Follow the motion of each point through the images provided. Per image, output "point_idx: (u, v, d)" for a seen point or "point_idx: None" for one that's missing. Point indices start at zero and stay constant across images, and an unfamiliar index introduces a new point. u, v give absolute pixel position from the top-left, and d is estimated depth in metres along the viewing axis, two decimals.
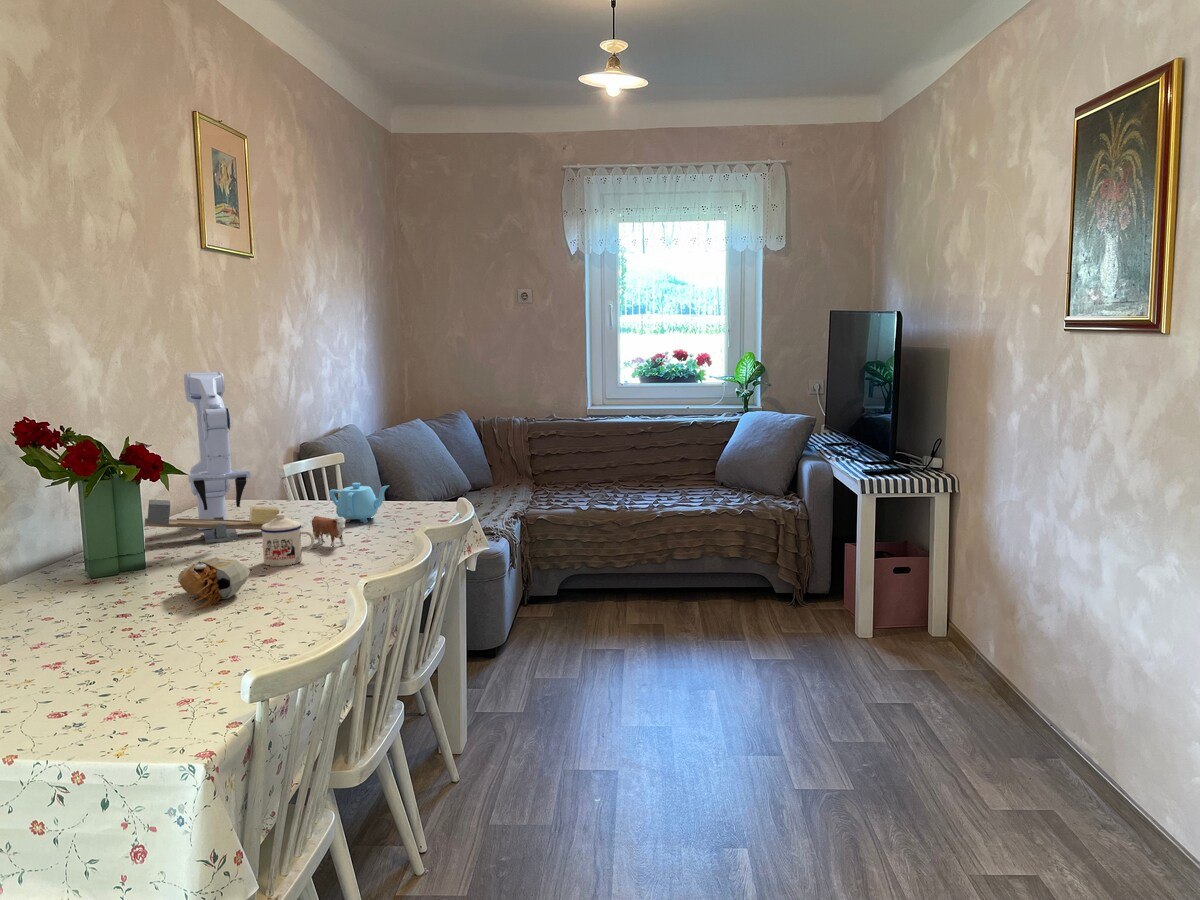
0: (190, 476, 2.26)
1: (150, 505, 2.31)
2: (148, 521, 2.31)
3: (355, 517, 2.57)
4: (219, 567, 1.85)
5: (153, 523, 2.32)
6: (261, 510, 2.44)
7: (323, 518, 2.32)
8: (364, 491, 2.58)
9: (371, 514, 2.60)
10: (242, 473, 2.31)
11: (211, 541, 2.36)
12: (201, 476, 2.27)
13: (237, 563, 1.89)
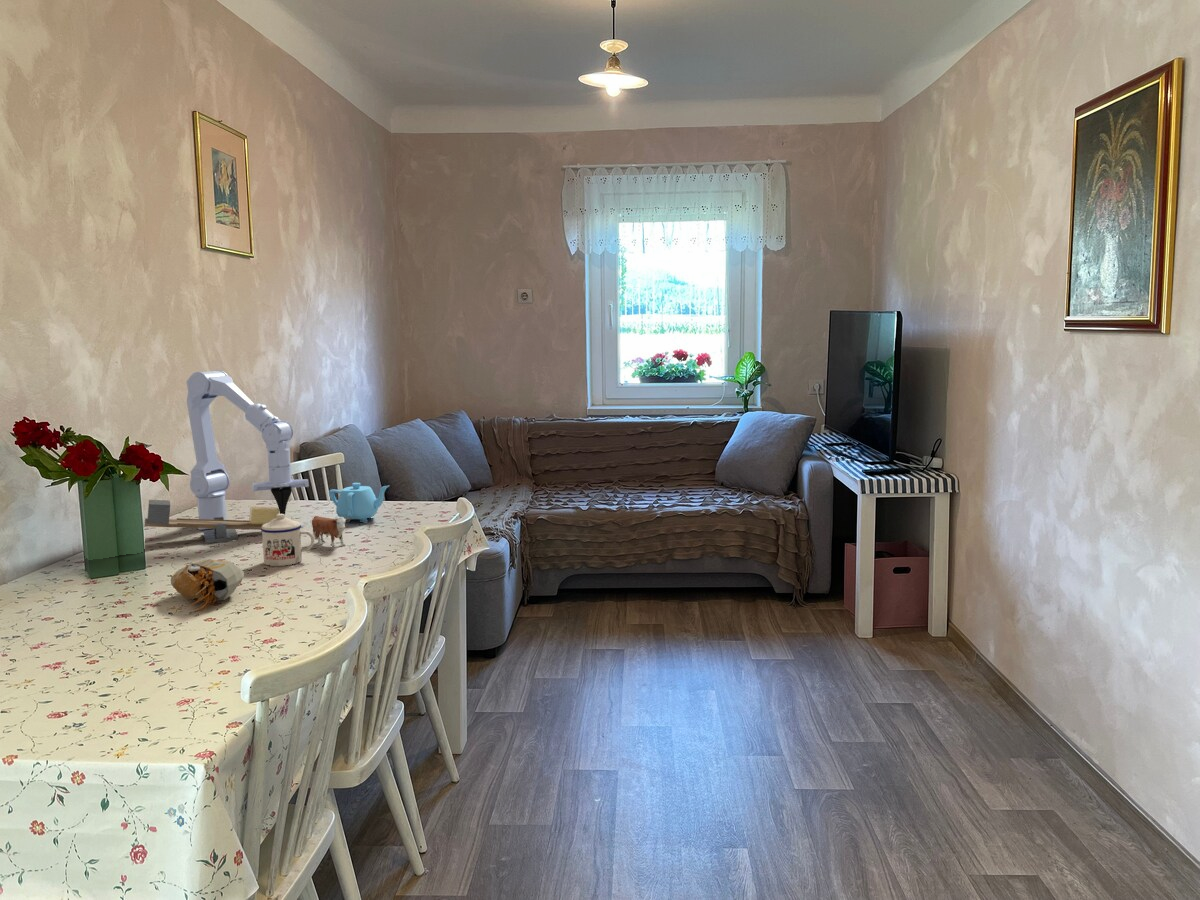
0: (254, 485, 2.44)
1: (150, 505, 2.31)
2: (148, 521, 2.31)
3: (355, 517, 2.57)
4: (215, 569, 1.83)
5: (153, 523, 2.32)
6: (261, 510, 2.44)
7: (323, 518, 2.32)
8: (364, 491, 2.58)
9: (371, 514, 2.60)
10: (301, 482, 2.49)
11: (211, 541, 2.36)
12: (264, 485, 2.44)
13: (232, 564, 1.88)
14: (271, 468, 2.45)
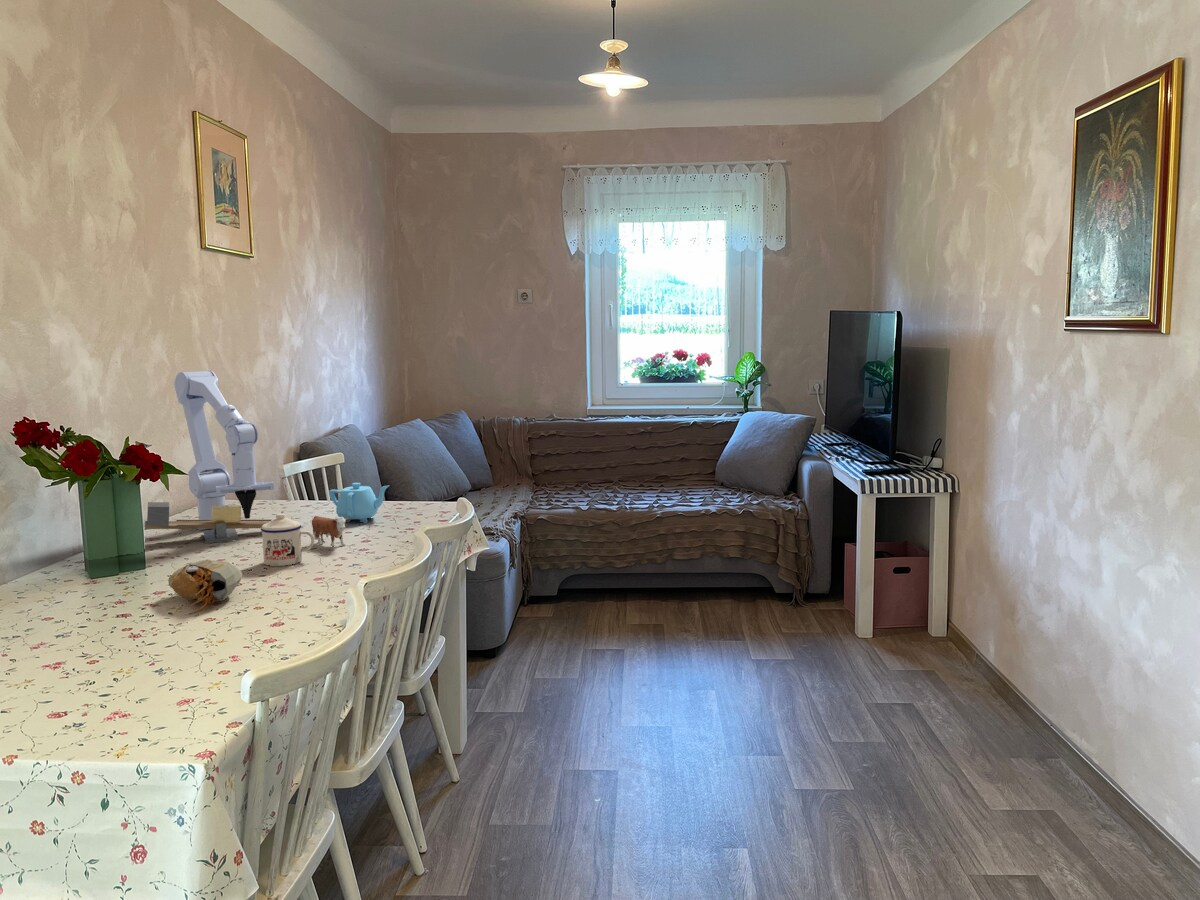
0: (217, 488, 2.40)
1: (149, 508, 2.31)
2: (148, 524, 2.31)
3: (355, 517, 2.57)
4: (213, 569, 1.83)
5: (153, 525, 2.32)
6: (222, 508, 2.40)
7: (323, 518, 2.32)
8: (364, 491, 2.58)
9: (371, 514, 2.60)
10: (266, 485, 2.45)
11: (211, 541, 2.36)
12: (228, 488, 2.40)
13: (230, 565, 1.87)
14: (235, 471, 2.41)
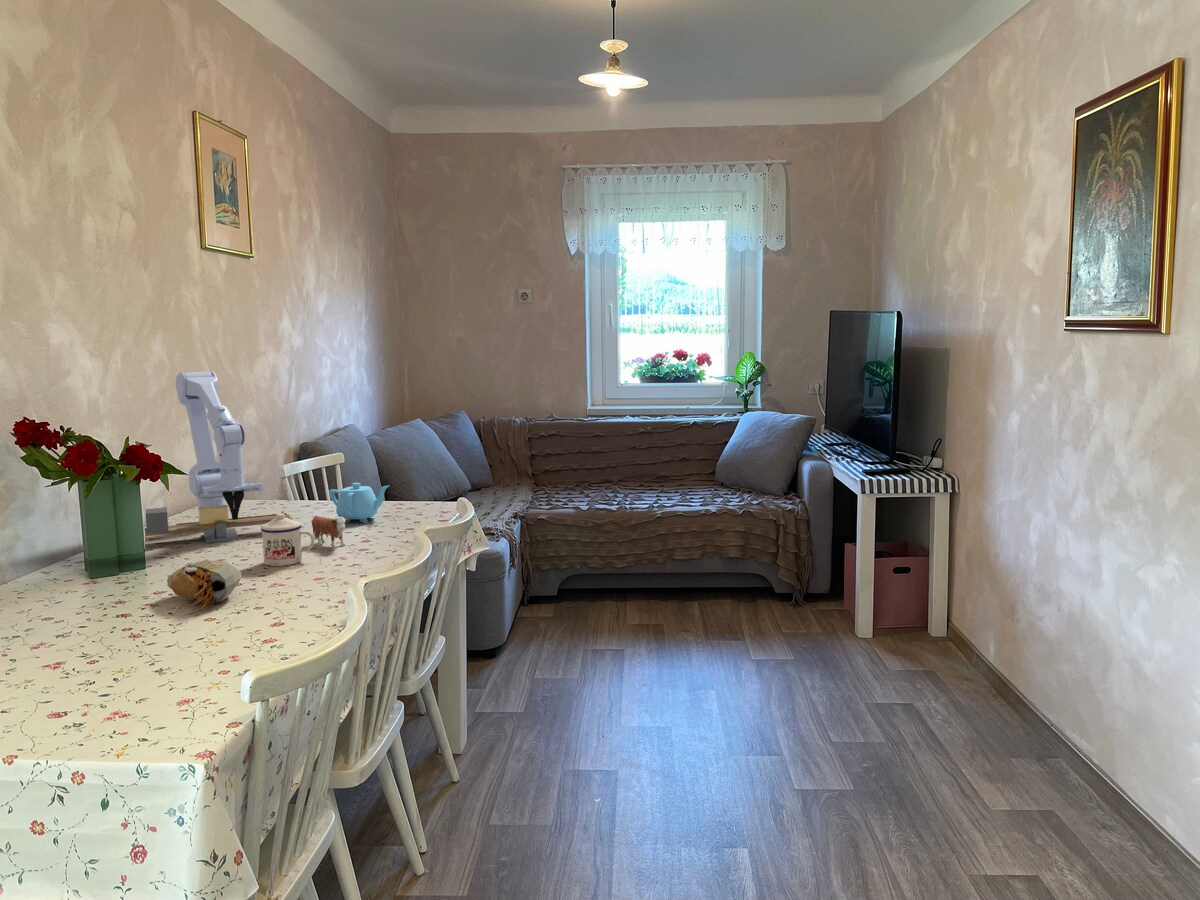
0: (205, 489, 2.39)
1: (147, 514, 2.31)
2: (147, 530, 2.31)
3: (355, 517, 2.57)
4: (213, 569, 1.83)
5: (153, 532, 2.32)
6: (209, 509, 2.39)
7: (323, 518, 2.32)
8: (364, 491, 2.58)
9: (371, 514, 2.60)
10: (254, 486, 2.44)
11: (211, 541, 2.36)
12: (215, 489, 2.39)
13: (229, 565, 1.87)
14: (222, 472, 2.39)
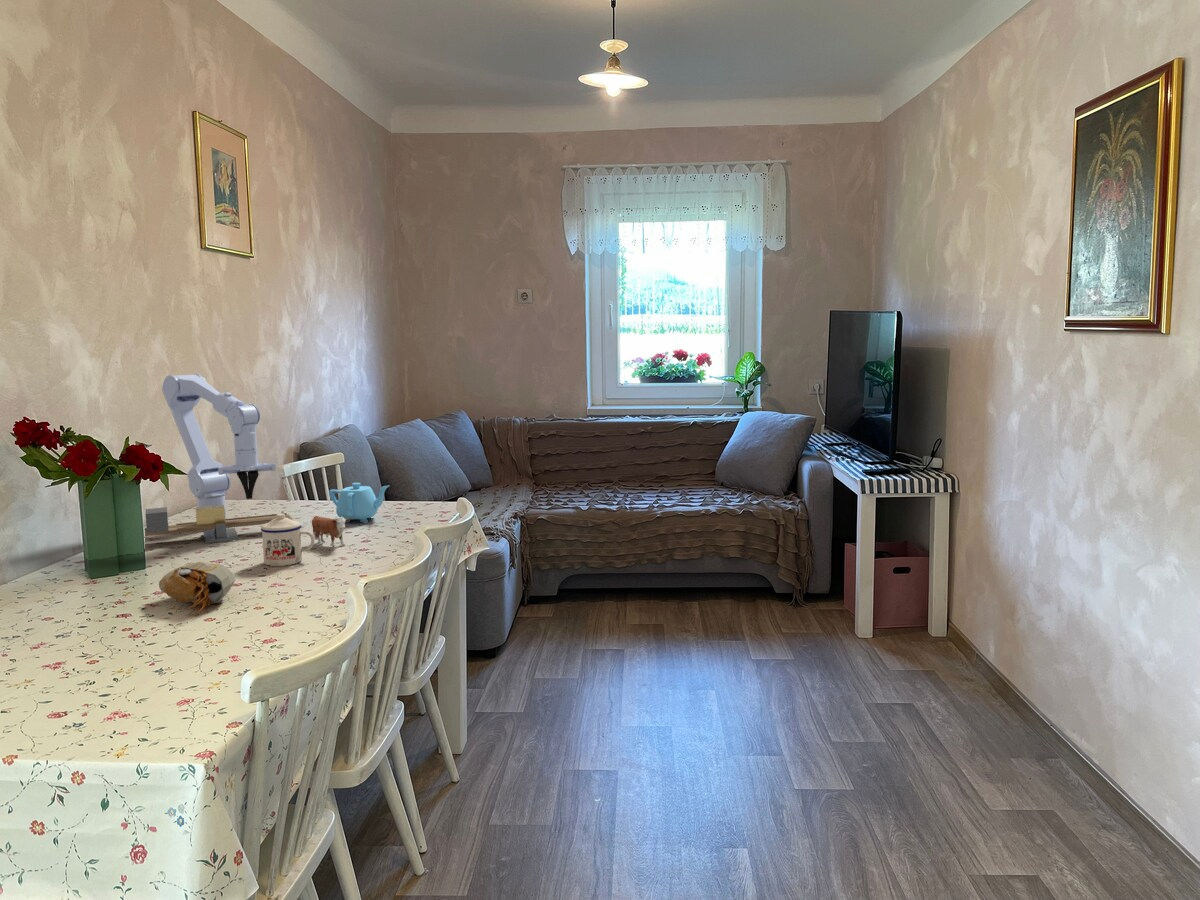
0: (220, 468, 2.42)
1: (147, 514, 2.31)
2: (147, 530, 2.31)
3: (355, 517, 2.57)
4: (208, 571, 1.82)
5: (153, 532, 2.32)
6: (206, 510, 2.38)
7: (323, 518, 2.32)
8: (364, 491, 2.58)
9: (371, 514, 2.60)
10: (268, 466, 2.47)
11: (211, 541, 2.36)
12: (230, 468, 2.43)
13: (223, 567, 1.86)
14: (237, 451, 2.43)
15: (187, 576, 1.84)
